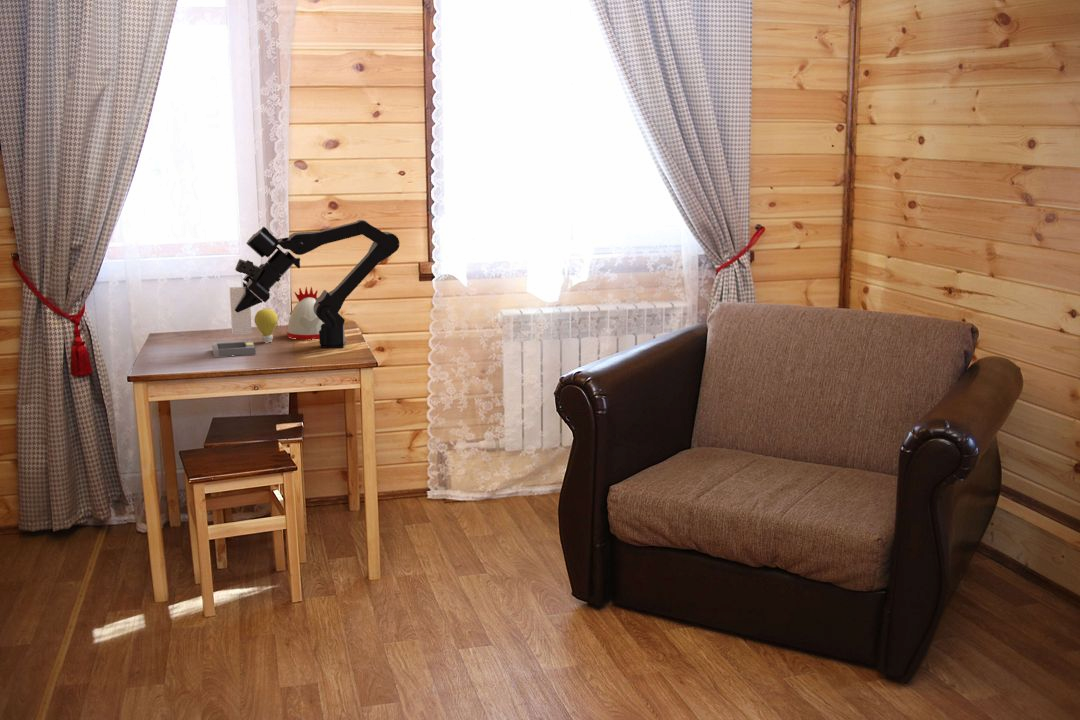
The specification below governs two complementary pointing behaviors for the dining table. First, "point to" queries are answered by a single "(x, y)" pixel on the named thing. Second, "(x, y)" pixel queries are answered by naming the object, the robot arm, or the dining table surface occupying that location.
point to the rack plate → (233, 348)
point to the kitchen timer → (304, 317)
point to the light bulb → (266, 323)
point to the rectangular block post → (242, 318)
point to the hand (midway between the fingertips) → (235, 309)
